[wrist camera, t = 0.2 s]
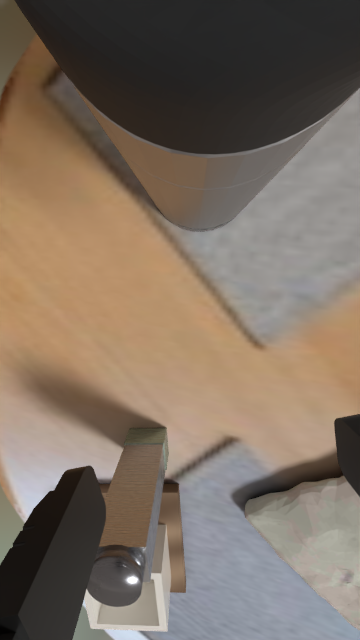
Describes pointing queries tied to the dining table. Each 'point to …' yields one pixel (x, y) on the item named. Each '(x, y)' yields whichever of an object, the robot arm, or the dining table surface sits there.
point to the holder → (140, 598)
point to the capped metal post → (131, 519)
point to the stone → (316, 538)
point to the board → (170, 533)
